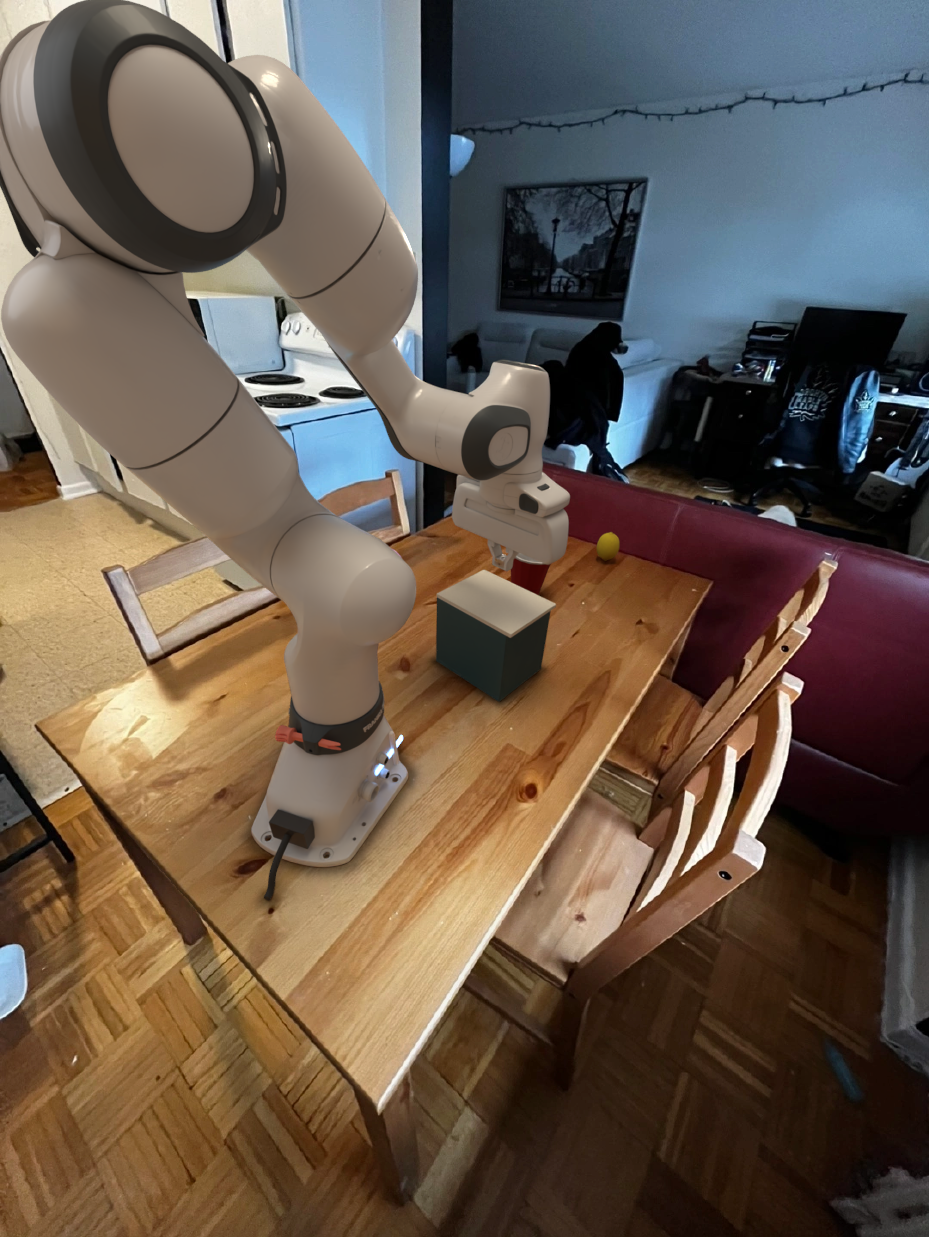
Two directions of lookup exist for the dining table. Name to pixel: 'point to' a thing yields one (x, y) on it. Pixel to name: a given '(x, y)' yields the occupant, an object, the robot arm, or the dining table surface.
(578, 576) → the dining table surface
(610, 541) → the lemon
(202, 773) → the dining table surface
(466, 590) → the lid
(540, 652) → the box
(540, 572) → the plastic cup
